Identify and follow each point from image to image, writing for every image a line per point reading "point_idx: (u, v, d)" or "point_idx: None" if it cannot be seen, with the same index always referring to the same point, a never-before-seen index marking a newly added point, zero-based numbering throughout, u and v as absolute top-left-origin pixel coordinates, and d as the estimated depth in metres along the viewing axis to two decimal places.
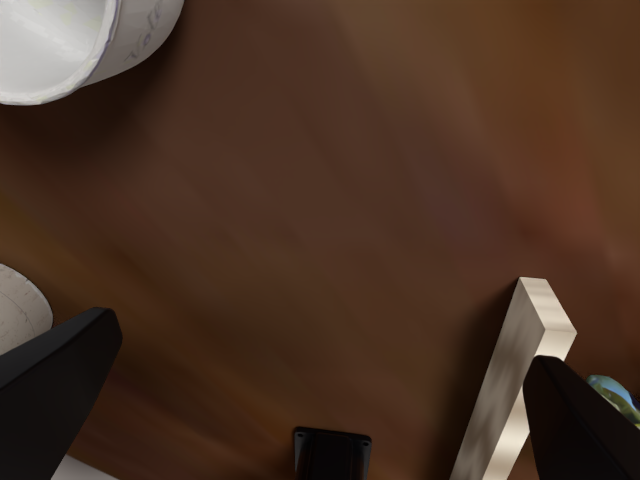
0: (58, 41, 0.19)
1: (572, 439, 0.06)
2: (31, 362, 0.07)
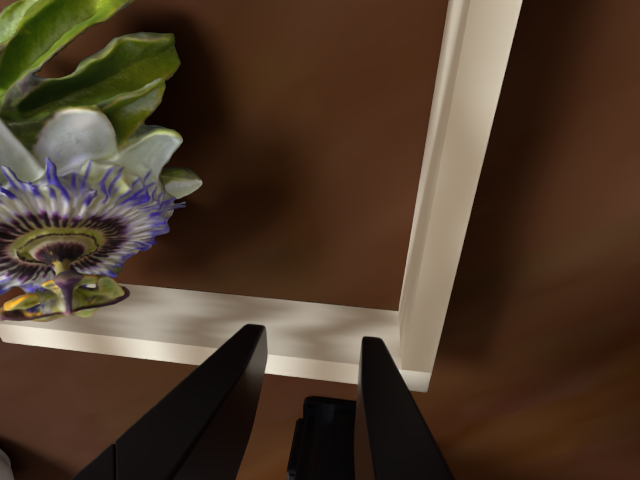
0: None
1: (360, 412, 0.07)
2: (222, 386, 0.07)
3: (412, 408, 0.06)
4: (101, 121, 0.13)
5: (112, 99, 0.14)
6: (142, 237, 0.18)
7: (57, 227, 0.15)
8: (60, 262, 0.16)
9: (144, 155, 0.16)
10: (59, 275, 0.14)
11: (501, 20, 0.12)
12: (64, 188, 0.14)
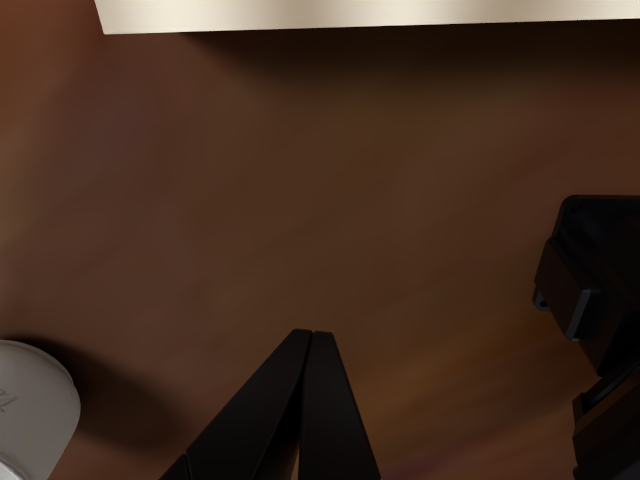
0: None
1: None
2: (282, 393, 0.07)
3: (348, 400, 0.06)
4: None
5: None
6: None
7: None
8: None
9: None
10: None
11: None
12: None
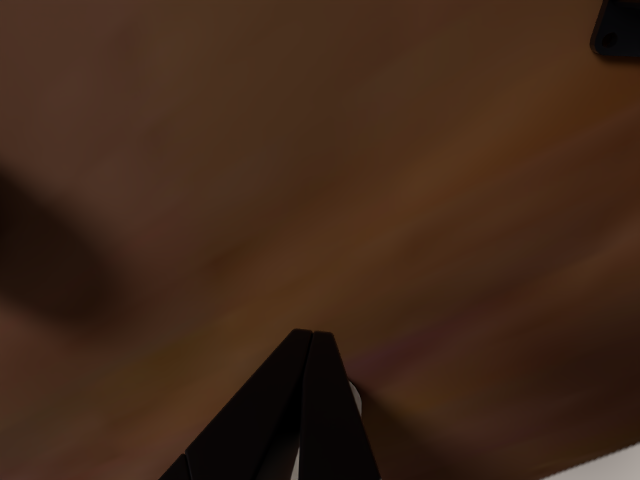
0: None
1: None
2: (282, 393, 0.07)
3: (348, 400, 0.06)
4: None
5: None
6: None
7: None
8: None
9: None
10: None
11: None
12: None
